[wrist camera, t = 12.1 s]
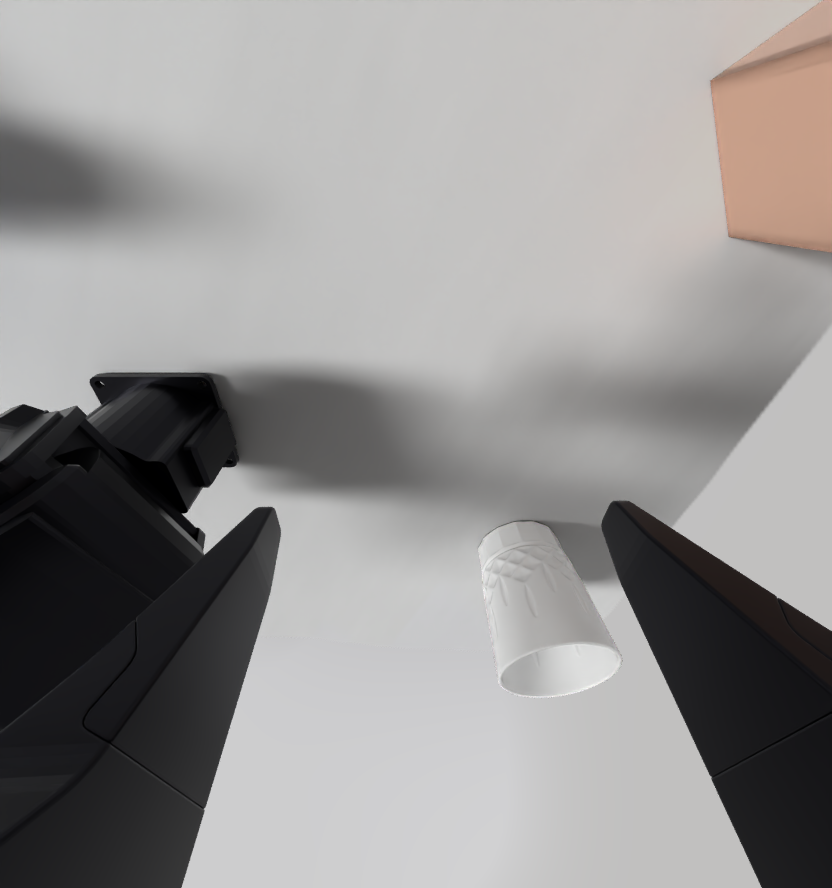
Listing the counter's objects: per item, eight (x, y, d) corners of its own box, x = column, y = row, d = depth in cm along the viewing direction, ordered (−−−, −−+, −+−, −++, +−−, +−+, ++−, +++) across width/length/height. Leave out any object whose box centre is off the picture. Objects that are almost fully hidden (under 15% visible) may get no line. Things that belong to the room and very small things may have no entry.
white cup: (551, 502, 28) (615, 630, 20) (570, 557, 33) (628, 681, 24) (457, 533, 30) (481, 663, 22) (487, 582, 34) (516, 706, 26)
